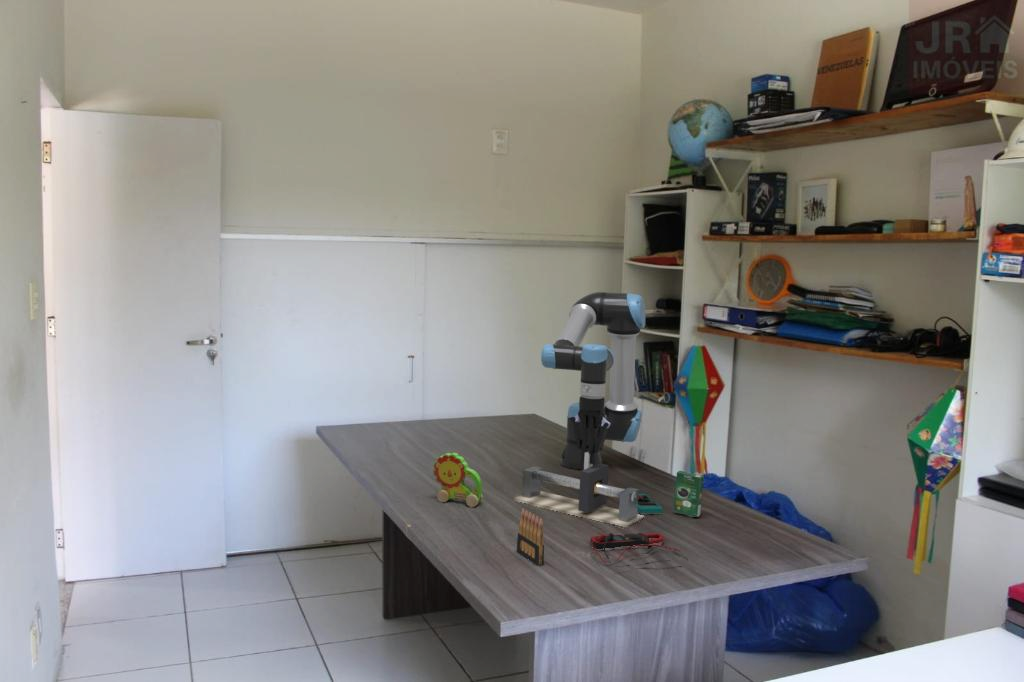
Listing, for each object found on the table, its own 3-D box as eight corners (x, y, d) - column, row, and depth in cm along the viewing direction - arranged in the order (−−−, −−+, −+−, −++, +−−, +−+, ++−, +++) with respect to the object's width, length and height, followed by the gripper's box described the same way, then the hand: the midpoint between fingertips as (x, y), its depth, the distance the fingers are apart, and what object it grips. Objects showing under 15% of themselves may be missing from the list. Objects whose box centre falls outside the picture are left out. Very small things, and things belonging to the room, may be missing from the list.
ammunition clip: (516, 551, 222) (518, 507, 220) (522, 550, 222) (524, 506, 221) (537, 566, 212) (539, 519, 211) (543, 564, 213) (546, 518, 212)
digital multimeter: (645, 501, 272) (646, 492, 272) (663, 516, 257) (663, 506, 257) (623, 502, 270) (624, 492, 270) (640, 516, 256) (640, 507, 256)
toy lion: (483, 503, 261) (485, 455, 259) (476, 508, 256) (478, 459, 254) (437, 496, 267) (439, 448, 265) (429, 500, 262) (431, 452, 260)
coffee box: (701, 517, 257) (704, 475, 255) (697, 519, 254) (700, 476, 253) (676, 511, 261) (679, 469, 260) (672, 513, 259) (675, 471, 257)
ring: (578, 510, 252) (580, 471, 250) (598, 501, 261) (600, 463, 260) (587, 512, 250) (589, 472, 248) (606, 503, 260) (608, 465, 258)
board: (513, 500, 265) (513, 497, 265) (534, 492, 275) (535, 489, 275) (625, 528, 243) (625, 525, 243) (644, 518, 253) (644, 515, 253)
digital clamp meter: (575, 528, 230) (659, 523, 237) (575, 544, 230) (658, 539, 237) (609, 560, 207) (701, 553, 214) (608, 578, 208) (699, 570, 215)
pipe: (522, 496, 267) (523, 469, 266) (532, 492, 271) (533, 465, 270) (627, 522, 246) (629, 492, 245) (636, 517, 251) (638, 488, 250)
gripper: (567, 395, 254) (563, 471, 256) (605, 401, 246) (600, 480, 249) (579, 392, 260) (575, 467, 262) (617, 397, 252) (612, 475, 255)
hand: (587, 473), depth 256 cm, fingers closed
